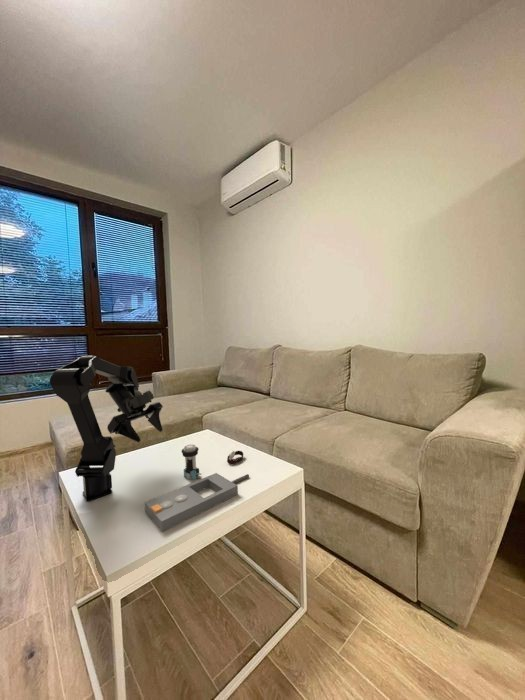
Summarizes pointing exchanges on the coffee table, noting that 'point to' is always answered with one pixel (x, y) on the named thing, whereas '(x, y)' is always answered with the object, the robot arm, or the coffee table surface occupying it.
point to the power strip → (189, 500)
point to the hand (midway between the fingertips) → (151, 436)
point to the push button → (191, 462)
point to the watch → (233, 456)
